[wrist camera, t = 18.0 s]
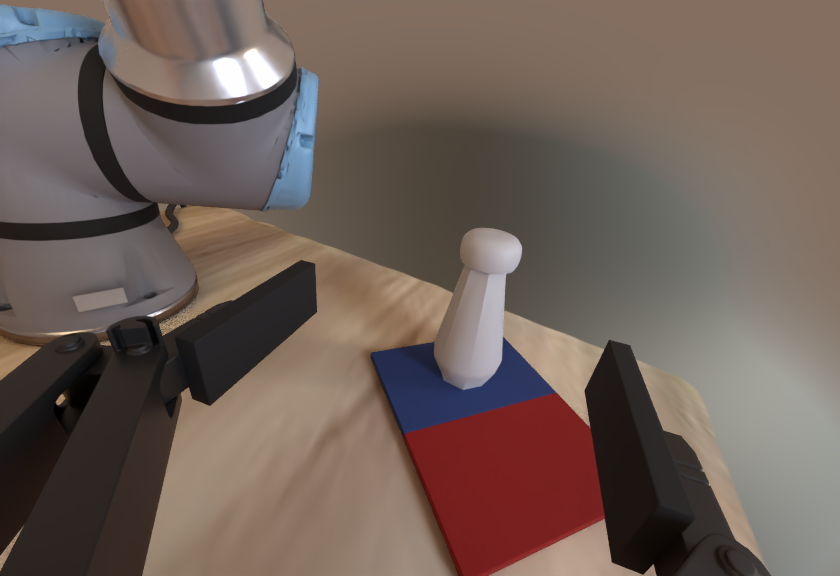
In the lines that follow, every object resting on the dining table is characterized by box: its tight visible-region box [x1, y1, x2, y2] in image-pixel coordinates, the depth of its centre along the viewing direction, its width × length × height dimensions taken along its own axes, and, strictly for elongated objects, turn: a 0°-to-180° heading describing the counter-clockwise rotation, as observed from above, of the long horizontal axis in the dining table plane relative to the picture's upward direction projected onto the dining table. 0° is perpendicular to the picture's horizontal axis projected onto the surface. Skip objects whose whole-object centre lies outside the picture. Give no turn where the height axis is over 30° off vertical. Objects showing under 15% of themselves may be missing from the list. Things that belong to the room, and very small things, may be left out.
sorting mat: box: [371, 337, 605, 576], centre depth 27 cm, size 18×14×1 cm
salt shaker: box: [434, 228, 522, 390], centre depth 27 cm, size 6×6×13 cm
